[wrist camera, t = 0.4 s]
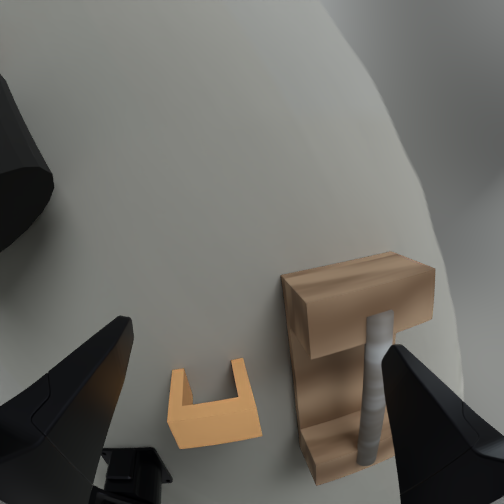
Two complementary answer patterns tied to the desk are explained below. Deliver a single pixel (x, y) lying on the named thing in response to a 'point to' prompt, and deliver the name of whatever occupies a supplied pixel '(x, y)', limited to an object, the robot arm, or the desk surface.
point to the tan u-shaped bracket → (212, 413)
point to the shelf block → (349, 354)
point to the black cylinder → (19, 172)
